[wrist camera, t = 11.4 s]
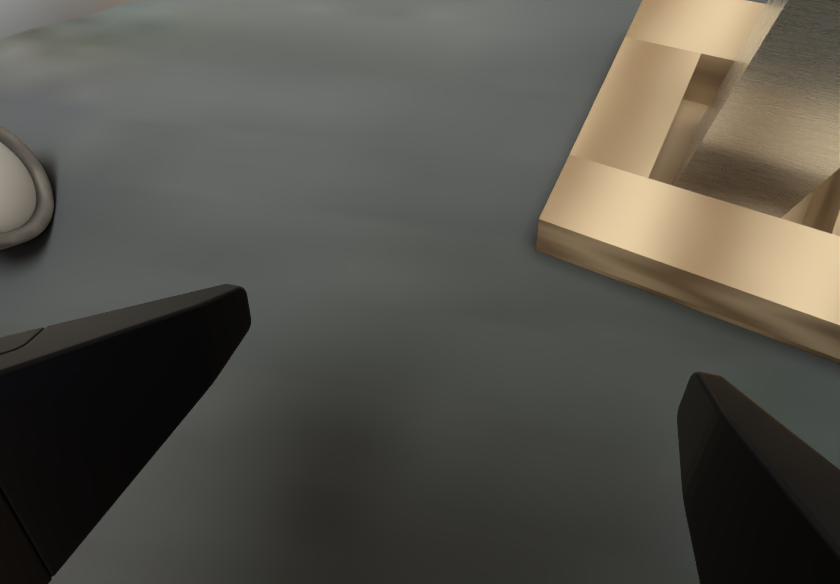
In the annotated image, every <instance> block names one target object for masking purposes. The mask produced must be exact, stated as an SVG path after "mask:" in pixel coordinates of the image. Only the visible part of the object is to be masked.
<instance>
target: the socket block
mask: <svg viewBox="0 0 840 584" xmlns="http://www.w3.org/2000/svg"><path fill="white" fill-rule="evenodd" d="M765 6H766V4H762V3H756V2H751V1H745V0H643V1H642V3H641V5H640V7H639V9H638V11H637V13H636V15H635V18H634V20H633V22H632V24H631V26H630V28H629V30H628V32H627V34H626V37H625V39H624V41H623V43H622V45H621V47H620V49H619V51H618V53H617V56H616V58H615V60H614V62H613V64H612V66H611V68H610V70H609V72H608V75H607V77H606V79H605V81H604V83H603V85H602V87H601V89H600V91H599V93H598V96H597V98H596V100H595V102H594V104H593V106H592V108H591V110H590V112H589V115H588V117H587V119H586V121H585V123H584V125H583V127H582V129H581V131H580V134H579V136H578V138H577V140H576V142H575V144H574V146H573V148H572V150H571V153H570V155H569V157H568V159H567V161H566V163H565V165H564V167H563V169H562V172H561V174H560V176H559V178H558V180H557V182H556V184H555V186H554V188H553V190H552V193H551V195H550V197H549V199H548V201H547V203H546V205H545V207H544V209H543V212H542V214H541V216H540V218H539V223H538V232H537V241H536V250H537V251H540V252H543V253H545V254H548V255H551V256H553V257H556V258H559V259H561V260H564V261H567V262H569V263H572V264H575V265H577V266H580V267H583V268H585V269H588V270H591V271H593V272H596V273H599V274H601V275H604V276H607V277H609V278H612V279H615V280H617V281H620V282H623V283H625V284H628V285H631V286H633V287H636V288H639V289H641V290H644V291H647V292H649V293H652V294H655V295H657V296H660V297H663V298H665V299H668V300H671V301H673V302H676V303H679V304H681V305H684V306H687V307H689V308H692V309H695V310H697V311H700V312H703V313H705V314H708V315H711V316H713V317H716V318H719V319H721V320H724V321H727V322H729V323H732V324H735V325H737V326H740V327H743V328H745V329H748V330H751V331H753V332H756V333H759V334H761V335H764V336H767V337H769V338H772V339H775V340H777V341H780V342H783V343H785V344H788V345H791V346H793V347H796V348H799V349H801V350H804V351H807V352H809V353H812V354H815V355H817V356H820V357H823V358H825V359H828V360H831V361H833V362H836V363H839V364H840V168H839V169H838V170H837V171H835V172H834V173H833V174H832V175H831V176H830V177H828V178H827V179H826V180H825V181H824V182H823V183H821V184H820V185H819V186H818V187H817V188H816V189H814V190H813V191H812V192H811V193H810V194H809V195H807V196H806V197H805V198H804V199H803V200H802V201H800V202H799V203H798V204H797V205H796V206H795V207H793V208H792V209H791V210H790V211H789V212H788V213H786V214H785V215H784V216H783V217H782V218H778V217H774V216H771V215H768V214H764V213H761V212H758V211H754V210H751V209H748V208H745V207H741V206H738V205H735V204H731V203H728V202H725V201H722V200H718V199H715V198H712V197H708V196H705V195H702V194H699V193H695V192H692V191H689V190H685V189H682V188H679V187H675V186H672V185H673V183H674V180H675V178H676V176H677V173H678V171H679V168H680V166H681V164H682V161H683V159H684V157H685V154H686V152H687V150H688V147H689V145H690V142H691V140H692V138H693V135H694V133H695V131H696V128H697V126H698V124H699V122H700V120H701V118H702V117H703V115H704V113H705V111H706V110H707V108H708V106H709V104H710V103H711V101H712V99H713V97H714V96H715V94H716V92H717V90H718V89H719V87H720V85H721V83H722V81H723V80H724V78H725V76H726V74H727V73H728V71H729V69H730V67H731V66H732V64H733V62H734V60H735V59H736V57H737V55H738V53H739V52H740V50H741V48H742V46H743V45H744V43H745V41H746V39H747V38H748V36H749V34H750V32H751V31H752V29H753V27H754V25H755V23H756V22H757V20H758V18H759V16H760V15H761V13H762V11H763V9H764V8H765Z"/></svg>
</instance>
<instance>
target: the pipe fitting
mask: <svg viewBox="0 0 840 584" xmlns="http://www.w3.org/2000/svg"><path fill="white" fill-rule="evenodd" d="M53 210H54V199H53V193H52V188H51V185H50V182H49V179H48V177H47V174H46V172H45V170H44V169H43V167H42V165H41V164H40V162H39V161H38V159H37V158H36V156H35V155H34V154H33V153H32V151H31V150H30V149H29V148H28V147H27V146H26V145H25V144H24V143H23V142H22V141H21V140H20V139H19V138H18V137H16V136H15V135H14V134H12V133H11V132H10V131H8V130H7V129H5V128H3V127H2V126H0V250H2V249H6V248H9V247H12V246H15V245H18V244H21V243H24V242H27V241H29V240H31V239H33V238H35V237H36V236H38V235H39V234H40V233H42V232H43V231H44V230H45V229H46V227H47V226H48V224H49V223H50V221H51V218H52V215H53Z"/></svg>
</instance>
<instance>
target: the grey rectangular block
mask: <svg viewBox="0 0 840 584" xmlns="http://www.w3.org/2000/svg"><path fill="white" fill-rule="evenodd" d="M839 168H840V0H769V1H768V2H767V4H766V6H765V8H764V9H763V11H762V13H761V15H760V16H759V18H758V20H757V22H756V23H755V25H754V27H753V29H752V31H751V32H750V34H749V36H748V38H747V39H746V41H745V43H744V45H743V46H742V48H741V50H740V52H739V53H738V55H737V57H736V59H735V60H734V62H733V64H732V66H731V67H730V69H729V71H728V73H727V74H726V76H725V78H724V80H723V81H722V83H721V85H720V87H719V89H718V90H717V92H716V94H715V96H714V97H713V99H712V101H711V103H710V104H709V106H708V108H707V110H706V111H705V113H704V115H703V117H702V118H701V120H700V122H699V124H698V126H697V128H696V131H695V133H694V135H693V138H692V140H691V142H690V145H689V147H688V150H687V152H686V154H685V157H684V159H683V161H682V164H681V166H680V168H679V171H678V173H677V176H676V178H675V180H674V183H673V185H672V186H675V187H679V188H682V189H685V190H689V191H692V192H695V193H699V194H702V195H705V196H708V197H712V198H715V199H718V200H722V201H725V202H728V203H731V204H735V205H738V206H741V207H745V208H748V209H751V210H754V211H758V212H761V213H764V214H768V215H771V216H774V217H778V218H782V217H783V216H784V215H785V214H786V213H788V212H789V211H790V210H791V209H792V208H793V207H795V206H796V205H797V204H798V203H799V202H800V201H802V200H803V199H804V198H805V197H806V196H807V195H809V194H810V193H811V192H812V191H813V190H814V189H816V188H817V187H818V186H819V185H820V184H821V183H823V182H824V181H825V180H826V179H827V178H828V177H830V176H831V175H832V174H833V173H834V172H835V171H837V170H838V169H839Z"/></svg>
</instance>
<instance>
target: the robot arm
mask: <svg viewBox="0 0 840 584" xmlns="http://www.w3.org/2000/svg"><path fill="white" fill-rule="evenodd" d="M250 325H251V315H250V309H249V303H248V297H247V293H246V291H245V289H244V288H243V287H240V286H235V285H230V284H224V285H219V286H215V287H211V288H207V289H203V290H198V291H194V292H190V293H186V294H182V295H177V296H173V297H169V298H165V299H161V300H156V301H152V302H148V303H144V304H140V305H135V306H131V307H127V308H123V309H118V310H114V311H110V312H106V313H102V314H97V315H93V316H89V317H85V318H81V319H76V320H72V321H68V322H64V323H60V324H55V325H51V326H48V327H46V328H38V329H34V330H30V331H26V332H21V333H17V334H13V335H8V336H4V337H0V584H48V583H49V582H50V581H51V579H52V576H54V575H55V574H56V573H57V572H58V571H59V569H60V568H61V567H62V566H63V565H64V563H65V562H66V561H67V560H68V558H69V557H70V556H71V555H72V554H73V552H74V551H75V550H76V549H77V548H78V546H79V545H80V544H81V543H82V542H83V540H84V539H85V538H86V537H87V535H88V534H89V533H90V532H91V531H92V529H93V528H94V527H95V526H96V525H97V523H98V522H99V521H100V520H101V518H102V517H103V516H104V515H105V514H106V512H107V511H108V510H109V509H110V508H111V506H112V505H113V504H114V503H115V502H116V500H117V499H118V498H119V497H120V495H121V494H122V493H123V492H124V491H125V489H126V488H127V487H128V486H129V485H130V483H131V482H132V481H133V480H134V478H135V477H136V476H137V475H138V474H139V472H140V471H141V470H142V469H143V468H144V466H145V465H146V464H147V463H148V462H149V460H150V459H151V458H152V457H153V455H154V454H155V453H156V452H157V451H158V449H159V448H160V447H161V446H162V445H163V443H164V442H165V441H166V440H167V438H168V437H169V436H170V435H171V434H172V432H173V431H174V430H175V429H176V428H177V426H178V425H179V424H180V423H181V421H182V420H183V419H184V418H185V417H186V415H187V414H188V413H189V412H190V411H191V409H192V408H193V407H194V406H195V405H196V403H197V402H198V401H199V400H200V398H201V397H202V396H203V395H204V394H205V392H206V391H207V390H208V389H209V387H210V386H211V385H212V384H213V382H214V381H215V379H216V378H217V377H218V375H219V374H220V372H221V371H222V369H223V368H224V366H225V365H226V363H227V362H228V360H229V359H230V357H231V356H232V354H233V353H234V351H235V350H236V348H237V347H238V345H239V344H240V342H241V341H242V339H243V338H244V336H245V335H246V333H247V332H248V330H249V328H250ZM677 425H678V439H679V453H680V467H681V481H682V492H683V500H684V506H685V512H686V517H687V522H688V526H689V531H690V536H691V541H692V546H693V551H694V556H695V561H696V566H697V570H698V575H699V580H700V584H840V470H839V469H838V468H837V467H836V466H834V465H833V464H832V463H830V462H829V461H828V460H827V459H825V458H824V457H823V456H822V455H820V454H819V453H818V452H817V451H815V450H814V449H813V448H812V447H810V446H809V445H808V444H807V443H805V442H804V441H803V440H802V439H800V438H799V437H798V436H796V435H795V434H794V433H793V432H791V431H790V430H789V429H788V428H786V427H785V426H784V425H783V424H781V423H780V422H779V421H778V420H776V419H775V418H774V417H773V416H771V415H770V414H769V413H767V412H766V411H765V410H764V409H762V408H761V407H760V406H759V405H757V404H756V403H755V402H754V401H752V400H751V399H750V398H749V397H747V396H746V395H745V394H744V393H742V392H741V391H740V390H739V389H737V388H736V387H735V386H733V385H732V384H731V383H730V382H728V381H727V380H726V379H725V378H723V377H722V376H720V375H715V374H710V373H705V372H695V373H693V374H692V376H691V377H690V379H689V382H688V384H687V387H686V390H685V392H684V395H683V398H682V400H681V403H680V405H679V409H678V414H677Z"/></svg>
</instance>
